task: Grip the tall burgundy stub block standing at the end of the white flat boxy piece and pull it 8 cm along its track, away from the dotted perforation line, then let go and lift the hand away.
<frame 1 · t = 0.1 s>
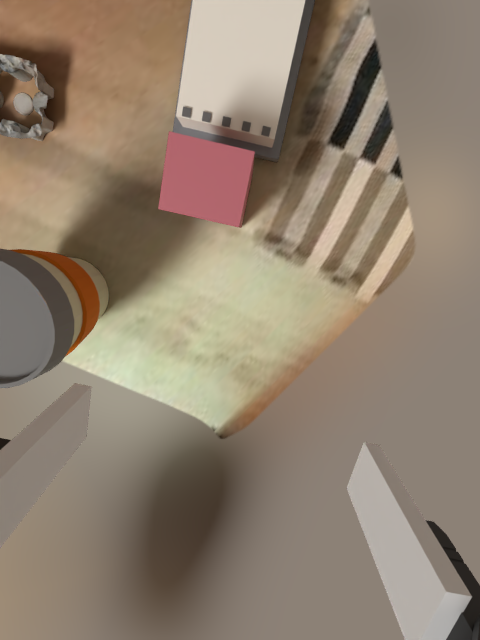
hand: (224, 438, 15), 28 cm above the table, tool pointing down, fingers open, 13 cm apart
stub: (212, 189, 32), point 6 cm above the table, slide at 0.0 cm
white flat boxy piece: (242, 65, 35), on the table
reusable coffee cup: (75, 291, 42), on the table
egg carton: (11, 104, 37), on the table
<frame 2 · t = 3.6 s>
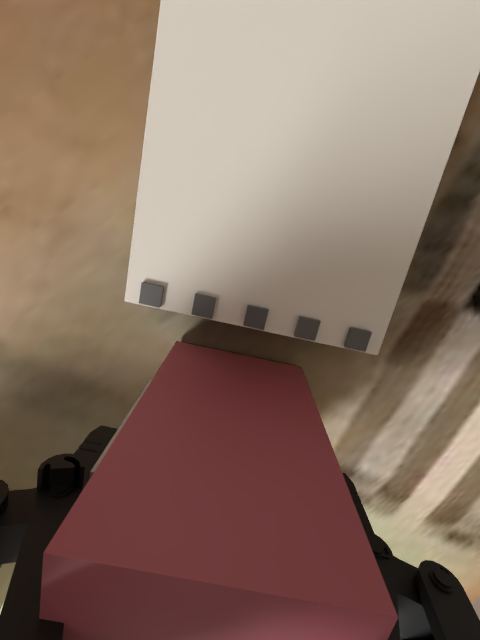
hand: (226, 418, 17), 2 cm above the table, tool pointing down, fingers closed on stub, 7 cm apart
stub: (219, 479, 13), point 6 cm above the table, slide at 0.0 cm, touching gripper
white flat boxy piece: (286, 149, 15), on the table
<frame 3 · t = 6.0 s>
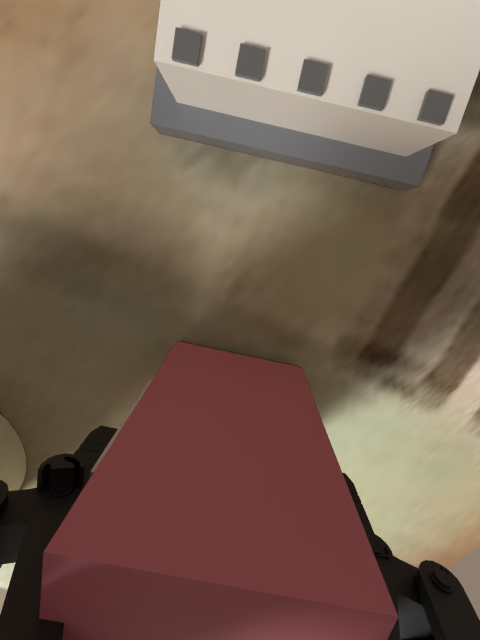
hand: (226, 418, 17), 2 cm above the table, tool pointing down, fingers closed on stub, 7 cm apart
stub: (219, 479, 13), point 6 cm above the table, slide at 7.9 cm, touching gripper
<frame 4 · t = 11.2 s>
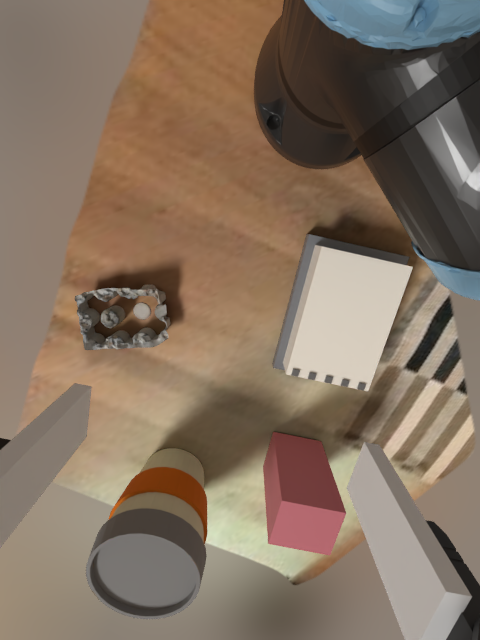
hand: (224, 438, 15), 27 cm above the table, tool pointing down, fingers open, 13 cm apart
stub: (298, 486, 41), point 6 cm above the table, slide at 8.0 cm
white flat boxy piece: (334, 312, 41), on the table
reusable coffee cup: (174, 472, 48), on the table
egg carton: (130, 313, 42), on the table
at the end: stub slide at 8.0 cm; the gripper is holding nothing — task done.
